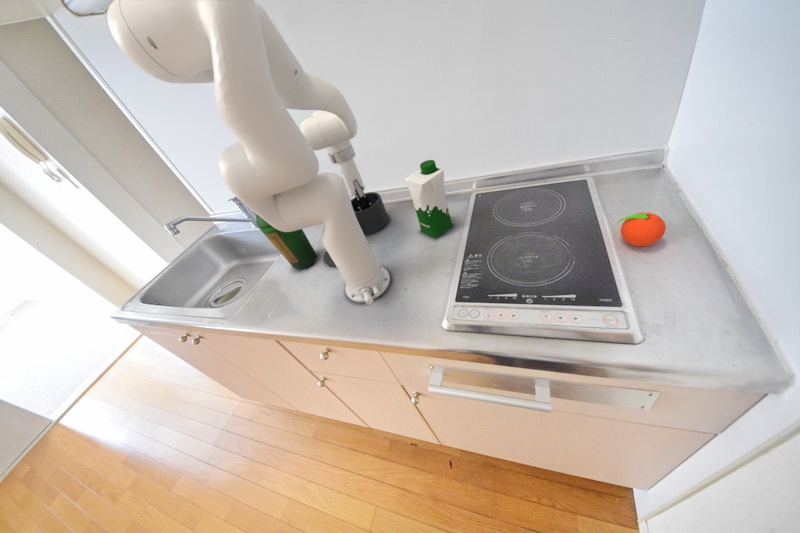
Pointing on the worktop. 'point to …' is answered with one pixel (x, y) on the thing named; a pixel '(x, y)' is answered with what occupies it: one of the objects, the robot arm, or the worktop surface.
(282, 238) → the bottle
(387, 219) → the dark grey cup
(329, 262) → the lid
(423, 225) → the milk carton
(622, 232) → the clementine
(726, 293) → the worktop surface
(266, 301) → the worktop surface
